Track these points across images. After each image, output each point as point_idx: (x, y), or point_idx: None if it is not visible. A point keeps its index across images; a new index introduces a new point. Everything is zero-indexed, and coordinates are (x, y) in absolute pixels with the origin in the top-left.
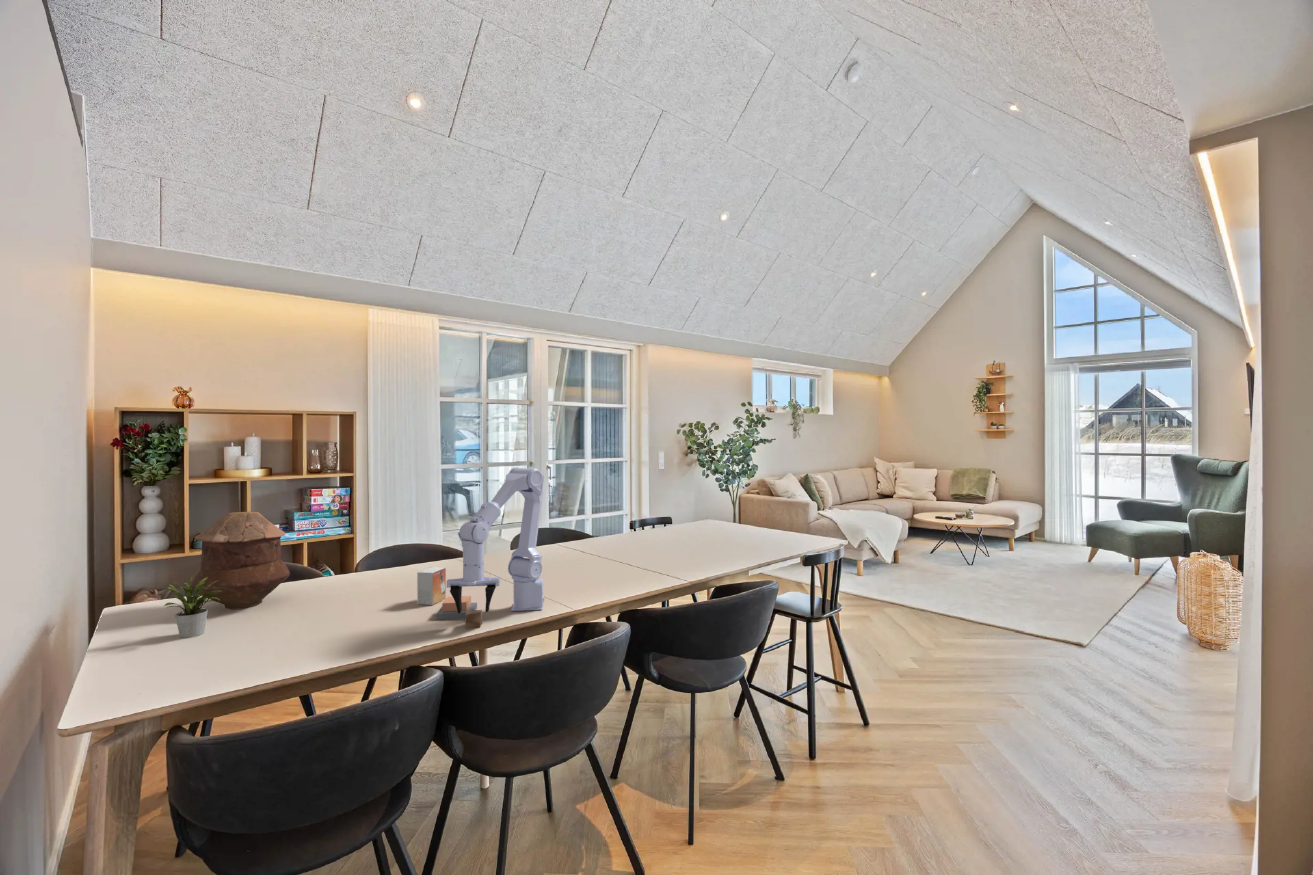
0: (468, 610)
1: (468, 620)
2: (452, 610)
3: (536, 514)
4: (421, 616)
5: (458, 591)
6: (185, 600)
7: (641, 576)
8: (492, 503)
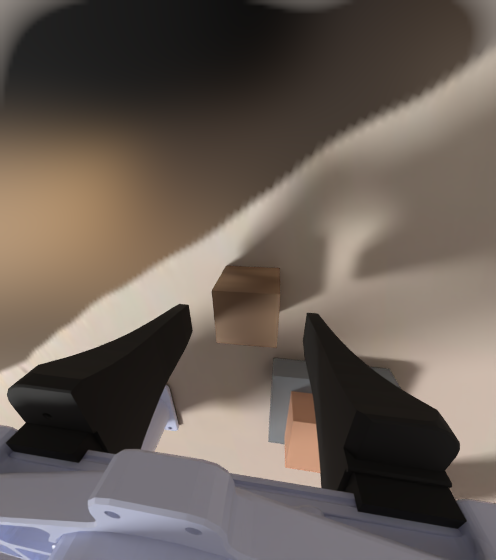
0: (273, 346)
1: (266, 280)
2: None
3: None
4: (436, 406)
5: (351, 413)
6: None
7: None
8: None
